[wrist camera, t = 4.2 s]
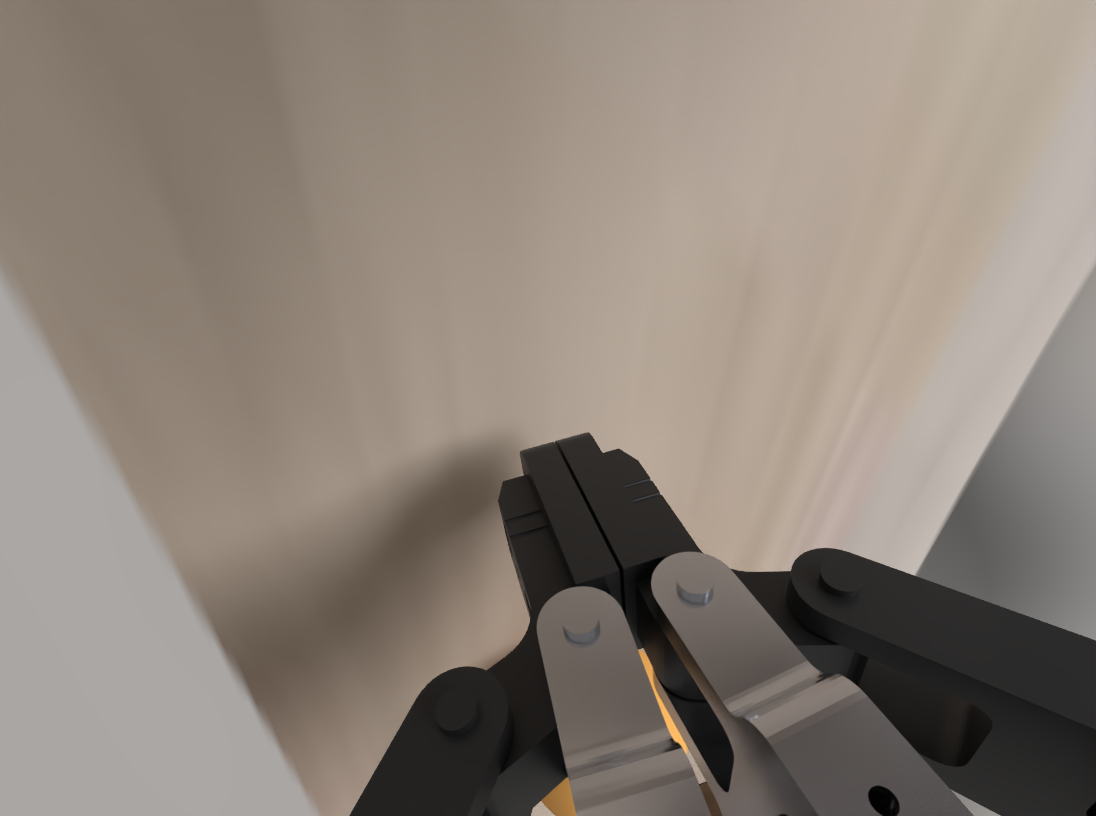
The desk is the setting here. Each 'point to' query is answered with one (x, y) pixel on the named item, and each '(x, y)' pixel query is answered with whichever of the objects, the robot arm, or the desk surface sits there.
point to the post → (710, 800)
